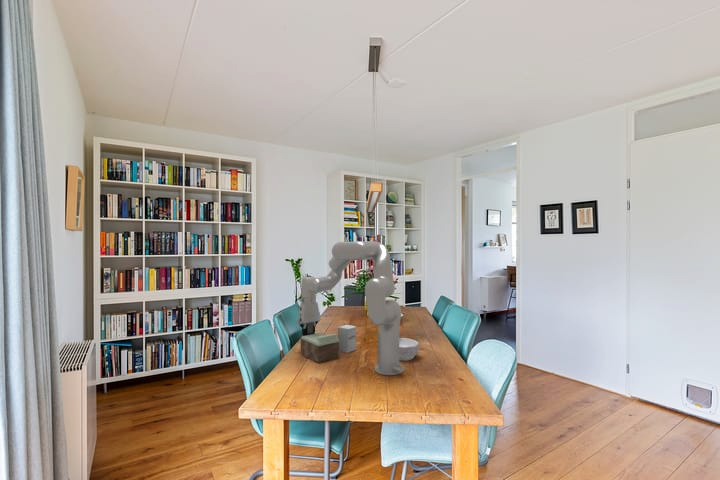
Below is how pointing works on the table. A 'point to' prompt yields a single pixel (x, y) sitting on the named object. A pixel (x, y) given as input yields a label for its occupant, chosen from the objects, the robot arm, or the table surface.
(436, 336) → the table surface
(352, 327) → the supplement box
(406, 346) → the paper bowls
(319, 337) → the lid
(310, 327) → the dark grey tall block
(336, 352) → the box
